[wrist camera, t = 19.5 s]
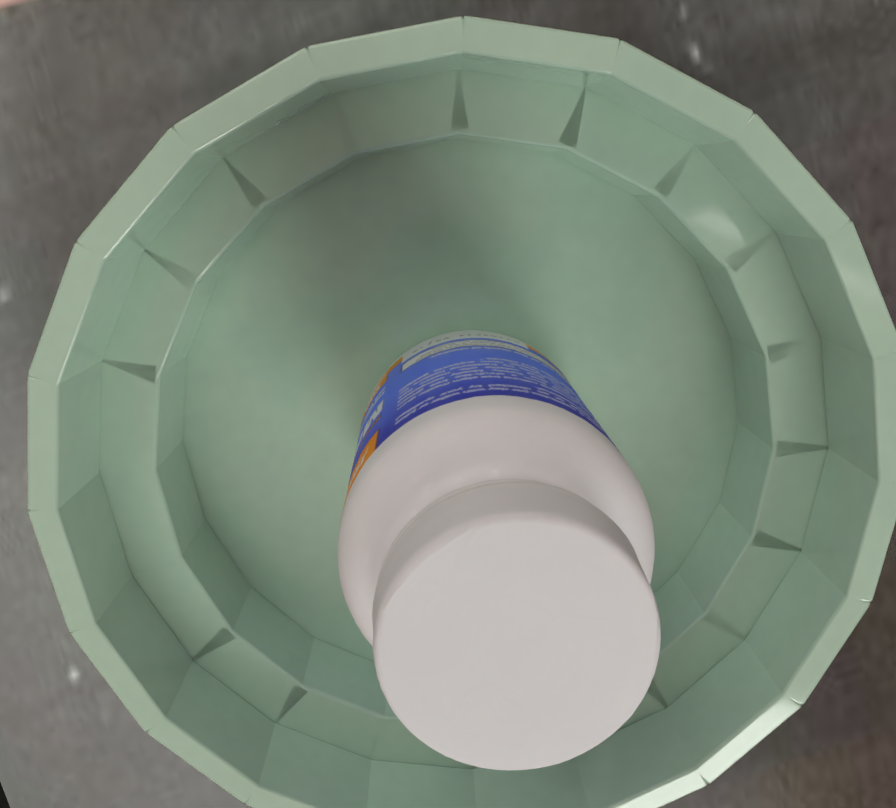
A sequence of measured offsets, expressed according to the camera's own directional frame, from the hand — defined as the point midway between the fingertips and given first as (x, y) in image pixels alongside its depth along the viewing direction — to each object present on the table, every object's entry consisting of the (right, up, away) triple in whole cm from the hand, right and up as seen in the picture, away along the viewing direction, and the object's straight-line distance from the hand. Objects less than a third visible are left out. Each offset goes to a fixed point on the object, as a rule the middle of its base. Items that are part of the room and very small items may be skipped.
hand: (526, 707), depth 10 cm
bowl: (-1, +3, +11) cm, 12 cm away
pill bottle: (0, +3, +11) cm, 11 cm away
